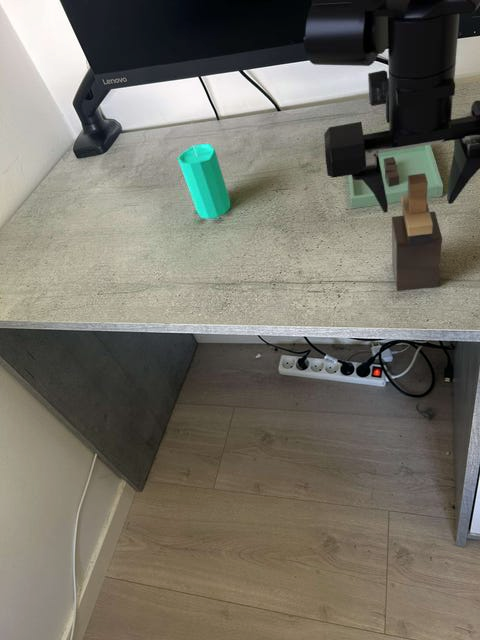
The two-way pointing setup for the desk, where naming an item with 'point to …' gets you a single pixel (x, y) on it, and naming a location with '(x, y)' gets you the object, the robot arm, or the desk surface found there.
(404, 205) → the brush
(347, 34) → the robot arm
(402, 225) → the dark brown block
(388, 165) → the crumb
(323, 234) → the desk surface
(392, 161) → the crumb
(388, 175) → the crumb
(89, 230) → the desk surface
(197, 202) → the candle
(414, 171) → the tray
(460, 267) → the desk surface
